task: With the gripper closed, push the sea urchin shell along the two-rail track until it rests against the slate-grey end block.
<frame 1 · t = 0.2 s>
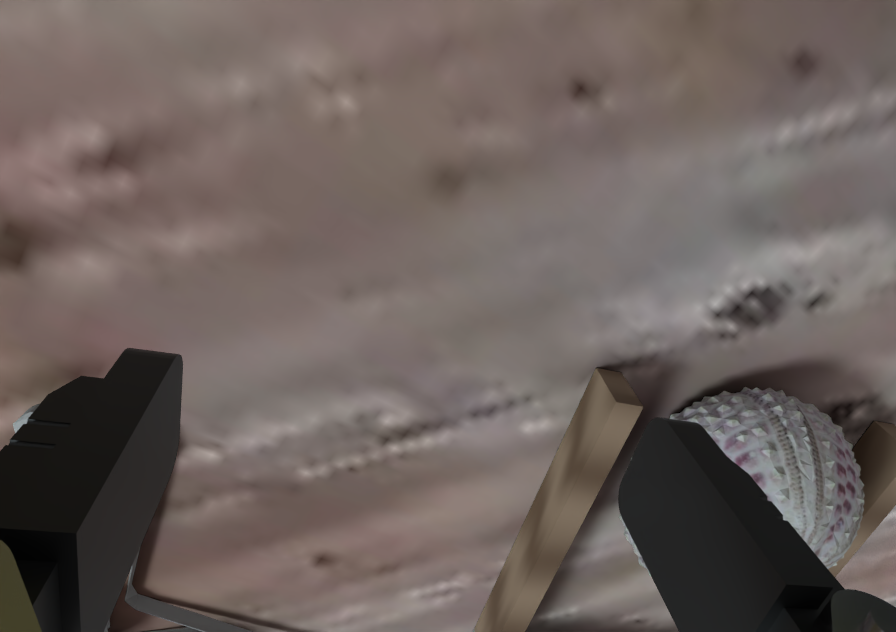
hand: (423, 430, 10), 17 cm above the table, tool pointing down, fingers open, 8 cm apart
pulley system: (137, 581, 36), on the table
sea urchin shell: (710, 459, 36), on the table
track: (670, 533, 39), on the table
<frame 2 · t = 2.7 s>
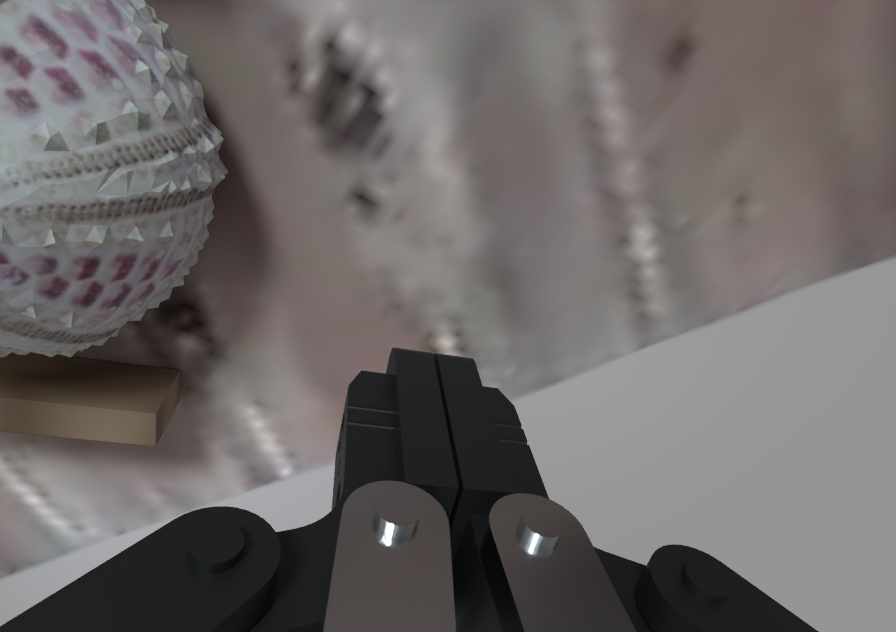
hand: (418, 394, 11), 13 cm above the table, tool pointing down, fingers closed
sea urchin shell: (33, 134, 20), on the table
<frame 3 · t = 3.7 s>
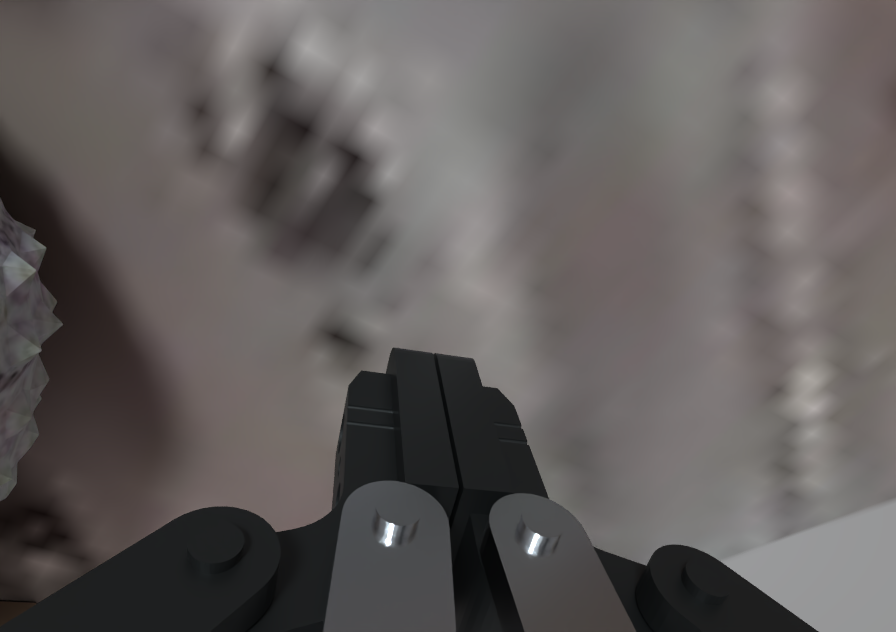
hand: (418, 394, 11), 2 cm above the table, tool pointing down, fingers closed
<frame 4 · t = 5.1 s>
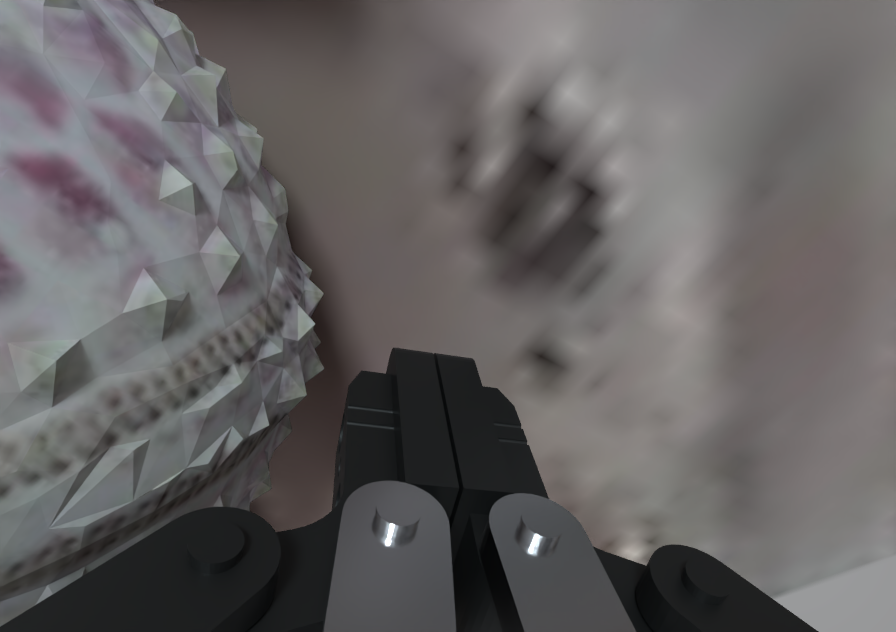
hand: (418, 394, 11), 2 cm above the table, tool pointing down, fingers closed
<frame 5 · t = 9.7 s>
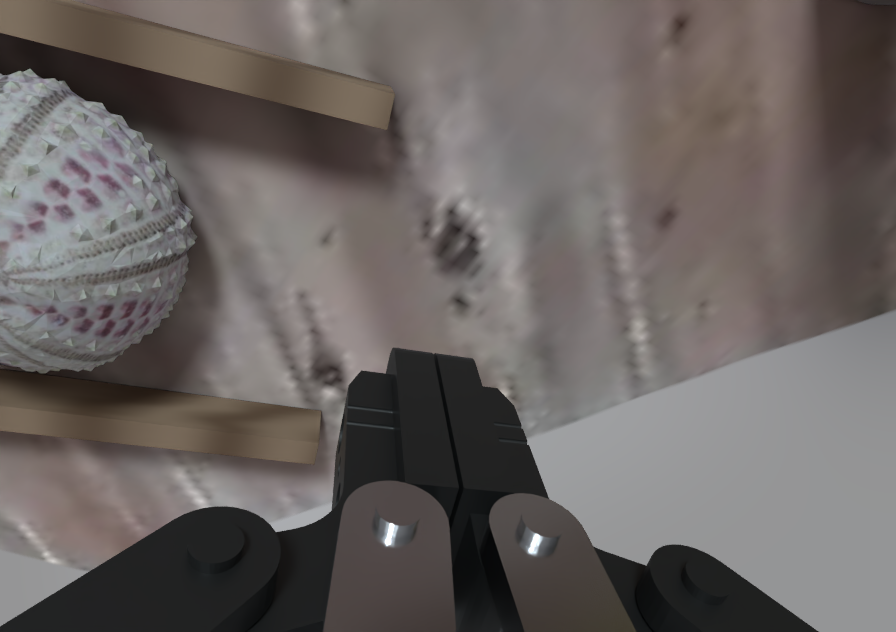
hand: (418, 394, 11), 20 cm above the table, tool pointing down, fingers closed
sea urchin shell: (56, 214, 28), on the table
track: (124, 239, 29), on the table
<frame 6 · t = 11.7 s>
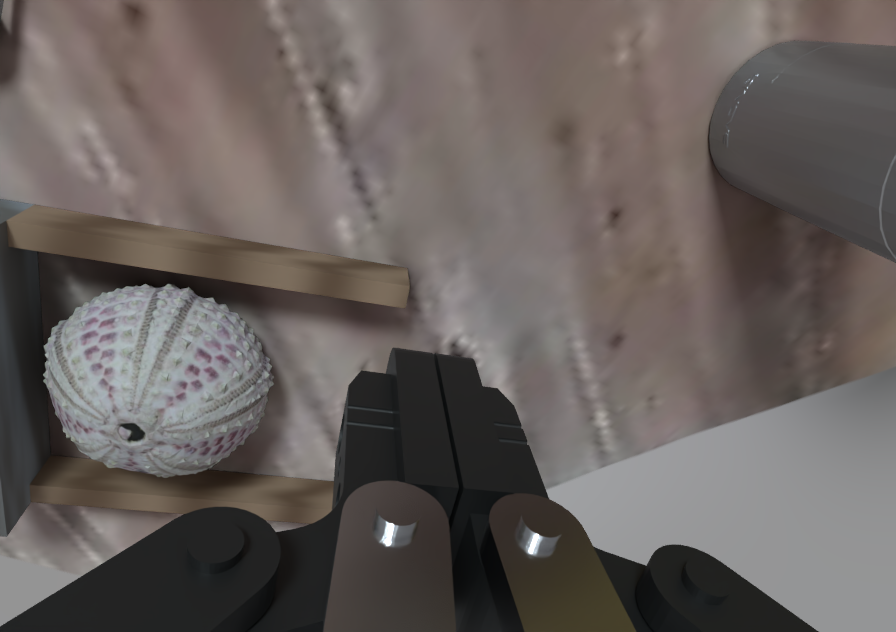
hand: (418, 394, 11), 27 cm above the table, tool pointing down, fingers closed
sea urchin shell: (175, 360, 40), on the table
track: (221, 374, 41), on the table
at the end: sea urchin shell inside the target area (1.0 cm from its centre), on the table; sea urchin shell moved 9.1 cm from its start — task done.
